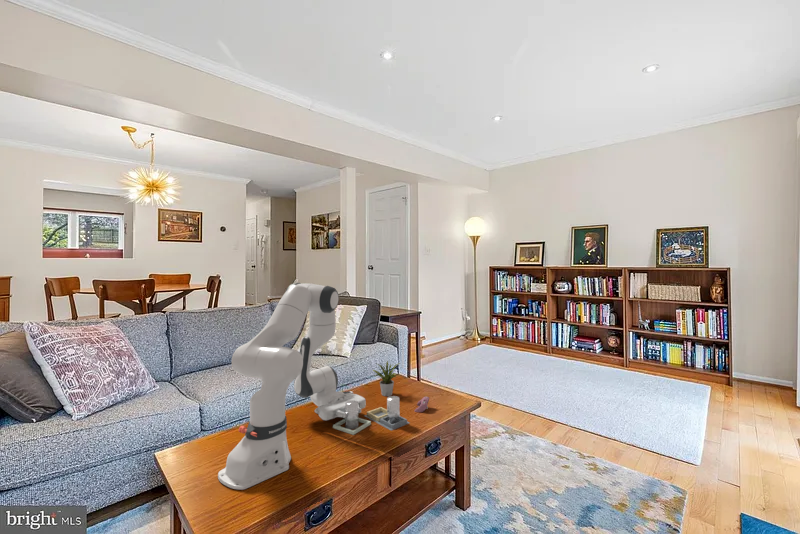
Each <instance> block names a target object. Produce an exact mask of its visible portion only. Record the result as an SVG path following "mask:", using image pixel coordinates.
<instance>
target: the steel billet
mask: <svg viewBox="0 0 800 534" xmlns="http://www.w3.org/2000/svg"><path fill="white" fill-rule="evenodd" d="M345 406H346V412H347V413H348V417H346V422H345V428H347V429H350V430H355V429H357V428H358V427H359V422H358V418H359V413H358V401H355V400H351V401H347V402H346V403H345Z"/></svg>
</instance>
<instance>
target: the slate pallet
mask: <svg viewBox="0 0 800 534" xmlns="http://www.w3.org/2000/svg"><path fill="white" fill-rule="evenodd" d="M364 418H367V419H369V421H371V422H375V423H376V424H378V425H379V426H381V427H383V428H385V429H387V430H389V431H391V432H392V431H394V430H396V429H399V428H401V427H404V426H407V425H409V424H410V423H411V422H409V421H408V419H407V418H405V417H403V416H401V415H400V421H399V422H397V423H394V424H391V423H389V422H387V408H384V407H382V406H379V407H378V408H377V407H376V408H375V409H374V408H373V409H371V410H368V411H366V414H365V415H364Z"/></svg>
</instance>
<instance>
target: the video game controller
mask: <svg viewBox="0 0 800 534" xmlns="http://www.w3.org/2000/svg"><path fill="white" fill-rule="evenodd" d="M429 401H430V397H428V396H423V397H422V398H421V399H420V400H418V402H417V403H416V406H417V407H416V408H415V409H414V412H415V413H423V412H425V411H426V410H428V408H429V406H428V405H429Z"/></svg>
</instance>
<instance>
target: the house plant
mask: <svg viewBox="0 0 800 534" xmlns="http://www.w3.org/2000/svg"><path fill="white" fill-rule="evenodd" d="M385 364H386V365H385V366H384V365H382V363H380V364H378V363H377V366H378V367H379V368H380V369H381V370H380V369H379V368H378V367H377V366H375V368H376V369H378V370H379V371H380V372H379V371H378V370H375V369H372V371H373V372H374V373H376V374H375V375H374V377H377V376H378V377H380V378H381V380H380V381H379V386H380V393H381V396H383V397H390V396H393V393H394V392H393V391H394V390H393V389H394V386H395V385H394V384H395V382H394V380H392V379H393V378H395V379H396V378H397V373H395V372H394V371H395V369H396V368H397V367H398V365H400V364H401V362H399V363H393V364H390V363H389V362H388V360H387V361H386V363H385ZM393 365H394V366H393Z"/></svg>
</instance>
